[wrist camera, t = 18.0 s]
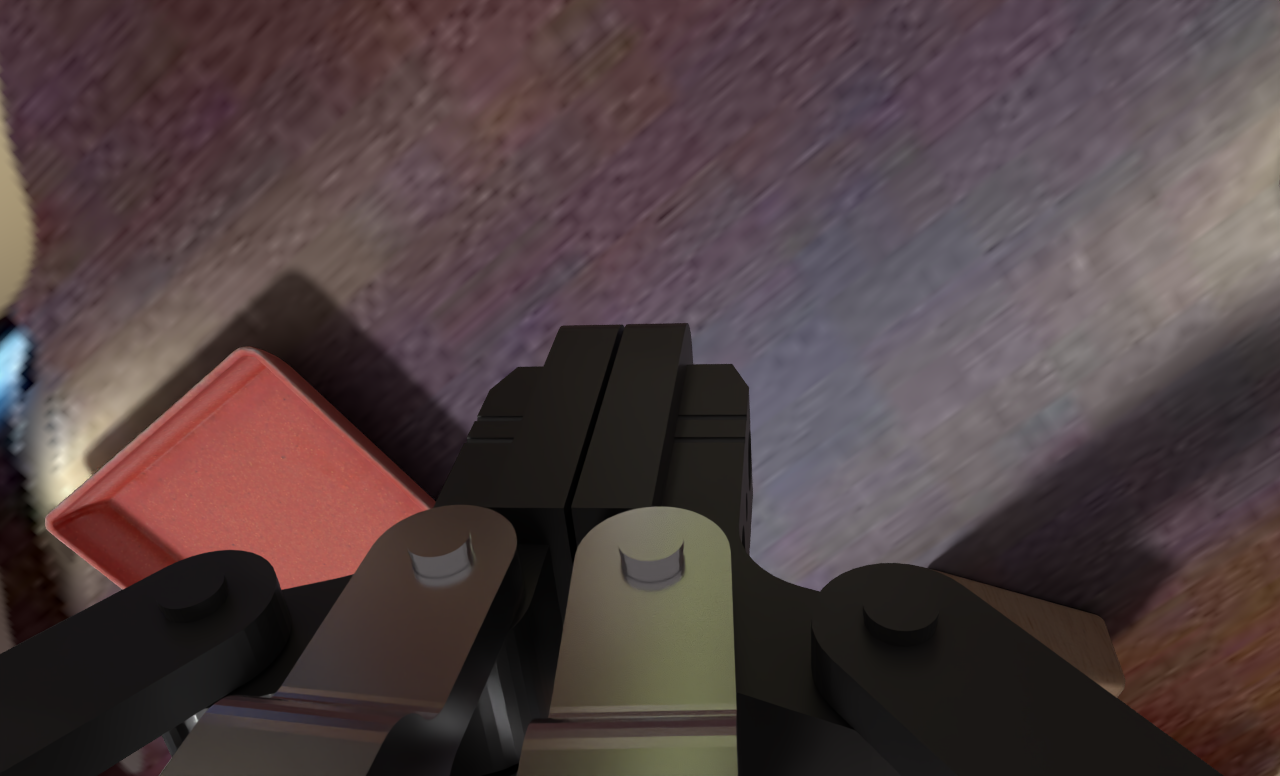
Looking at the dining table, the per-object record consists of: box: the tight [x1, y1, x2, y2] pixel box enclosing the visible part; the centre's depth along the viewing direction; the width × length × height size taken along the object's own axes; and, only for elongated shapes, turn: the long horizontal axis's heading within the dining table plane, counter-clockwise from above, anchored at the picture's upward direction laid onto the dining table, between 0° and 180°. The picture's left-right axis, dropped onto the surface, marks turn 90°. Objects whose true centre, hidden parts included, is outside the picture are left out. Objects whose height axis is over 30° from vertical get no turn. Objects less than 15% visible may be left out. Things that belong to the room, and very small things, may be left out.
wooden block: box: [934, 570, 1125, 698], centre depth 43 cm, size 9×4×18 cm, turn 76°
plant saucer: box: [45, 346, 436, 590], centre depth 52 cm, size 18×18×3 cm
